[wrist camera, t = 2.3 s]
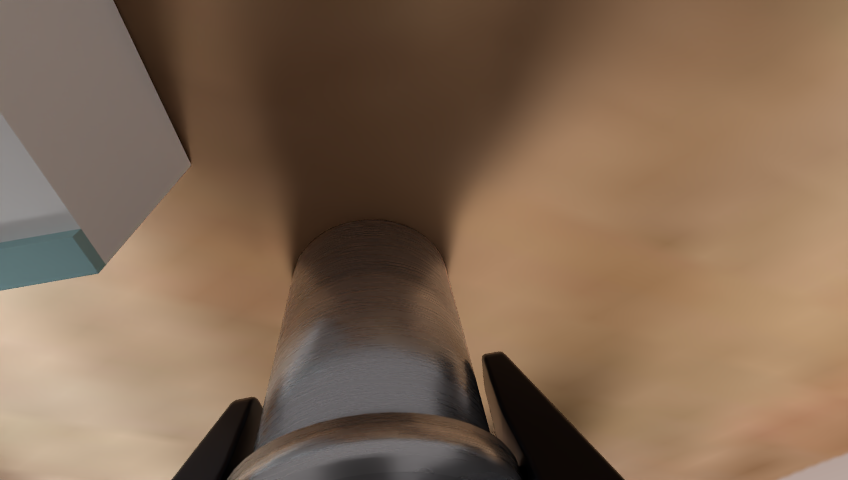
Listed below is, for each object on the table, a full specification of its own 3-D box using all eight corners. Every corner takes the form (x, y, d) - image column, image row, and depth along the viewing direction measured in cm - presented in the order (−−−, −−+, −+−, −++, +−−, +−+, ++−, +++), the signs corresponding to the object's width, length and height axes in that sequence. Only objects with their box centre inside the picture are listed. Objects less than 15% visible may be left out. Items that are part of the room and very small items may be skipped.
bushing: (449, 193, 10) (535, 426, 5) (464, 331, 12) (531, 577, 7) (254, 227, 10) (139, 501, 5) (309, 359, 12) (272, 627, 7)
